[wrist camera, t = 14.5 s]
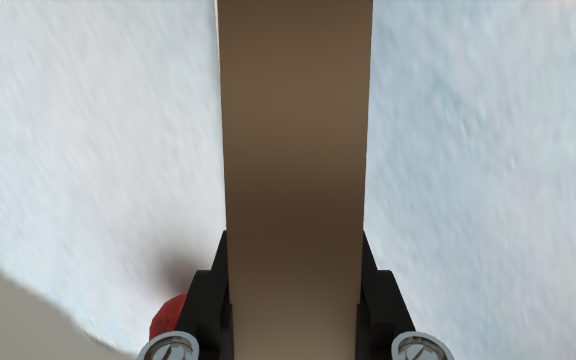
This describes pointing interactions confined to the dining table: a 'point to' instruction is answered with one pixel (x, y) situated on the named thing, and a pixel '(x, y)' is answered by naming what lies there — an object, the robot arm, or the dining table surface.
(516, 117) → the dining table surface
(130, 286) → the dining table surface
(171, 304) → the onion
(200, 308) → the robot arm
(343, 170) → the brown wooden brick
